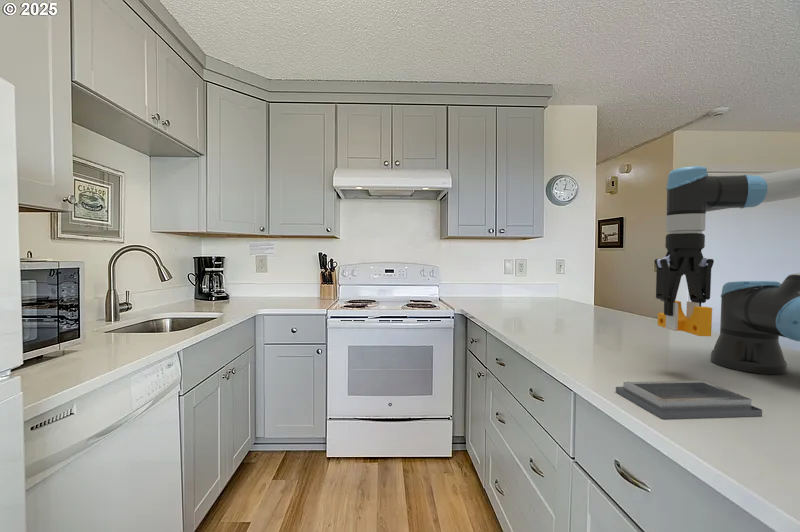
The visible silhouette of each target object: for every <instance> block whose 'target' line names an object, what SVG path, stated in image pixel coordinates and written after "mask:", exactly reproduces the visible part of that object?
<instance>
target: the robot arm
mask: <svg viewBox="0 0 800 532" xmlns="http://www.w3.org/2000/svg"><path fill="white" fill-rule="evenodd" d="M796 198H800V167H799V168H792V169H786V170H780V171H775V172H769V173H768V172H767V173H762V174H756V175H750V174H749V175H747V174H743V175H713V176H712V175H709V174H708V169H707V168H706V166H700V165H695V166H685V167H678V168H675V169H673V170H671V171H670V172H669V173H668V175H667V183H666V216H665V218H666V219H665V231H666V232H667V234H666V235H665V244H664V245H665V249H666V250H667V252H666V254H665V257H662V258H655V259H654V265H655V267H656V273H655V274H656V278H655V279H656V280H655V298H656V300H657V299H658V300H660V301H661V302H663V313H664V315H666V328H665V329H668V330H671V329H672V330H671V331H674V330H678V303H674V302H675V301H677V295H678V291H679V287H680V284H681V280H682V277H683V275H684V276H685V279H686V285H687V290H688V295H689V300H690V301H686V313H685V316H686V317H687V318H688V319H689V318H690V317H691V316H692V314H693V310H694V307H702V304H705V303H706V302H707V300H708V301H709V300H710V299H711V291H712V290H711V289H712V288H711V286H712V285H711V284H712V269H713V266H714V262H715V261H714V259H713V258H706V257H704V256H703V253H702V250H704V249H705V247H706V243H705V242H706V241H705V240H706V239H705V238H706V235H705V234H704V233H703V232H705V231H706V214H707V213H706V212H714V211H719V210H726V209H727V210H728V209H736V208H737V209H745V208H756V207H758V206H760V205H761V204H764V203H765V204H766V203H770V202H776V201H783V200H791V199H796ZM720 298H721V299H720V301H721V302H720V304H721V305H720V325H719V326H720V328H719V329H720V330H719V335H718V337H717V340H716V342H715V344H714V348H713V349H712V350H711V352H710V361H711V362H712V363H713V364H715V365H718V366H721V367H724V368H727V369H732V370H736V371H742V372H747V373H754V374H763V375H784V374H785V375H786V373H787V372H788V370H787V369H788V363H787V361H786V360H785V357H784V353H783V350H782V348H781V347H782V346H781V345H780V341H779V340H780V339H779V337H782V338H787V339H789V340H792V341H795V342H800V272H796V273H791V274H788V275H787V276H786V277H785V279H784V280H783V281H782V283H781V282H779V281H776V280H775V281H774V280H773V281H772V280H748V281H747V280H746V281H744V280H742V281H739V280H738V281H728V282H726V283H724V284H723V286H722V290H721V294H720Z"/></svg>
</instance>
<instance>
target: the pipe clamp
mask: <svg viewBox="0 0 800 532" xmlns="http://www.w3.org/2000/svg"><path fill="white" fill-rule="evenodd" d="M674 303H678V330H672V329H670V330H671V331H674V332H676V331H677V332H679V331H680V332H685V333H689V334H692V335H695V336H698V337H712V324H713V322H712V321H713V308H712V307H709V306H701V307H694V310H693V314H692V316H691V317H690V318H689V319H688V318H687V317H686V314H685V313H684V311H683V308H682V301H679V300H675V302H674ZM657 326H658V327H661V328H665V329H667V328H666V315H664V312H658V313H657Z"/></svg>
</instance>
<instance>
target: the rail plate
mask: <svg viewBox="0 0 800 532" xmlns="http://www.w3.org/2000/svg"><path fill="white" fill-rule="evenodd" d="M615 394H618V395H620V396H621V397H623V398H625V399H626V400H628V401H630V402H632V403H634V404H636V405H637V406H639V407H641V408H642V409H644V410H646V411H647V412H649V413H651V414H653V415H654V414H655V416H656V417H658V418H660V419H661V418H662V419H661V420H674V419H677V420H678V419H679V420H680V419H681V420H682V418H683V419H707V418H708V419H709V418H710V419H712V418H713V419H714V418H716V417H717V418H742V417H743V418H744V417H762V416H763V409H762V408H759V407H757V406H753V405H752V400H753V399H751V398H750V397H746V396H745V395H741V394H739V393H736V392H733V391H731V390H729V389H726V388H723V387H721V386H719V385H715V384H713V383H711V382H708V381H705V380H704V379H703V380H702V379H701V380H664V381H661V380H659V381H658V380H657V381H655V380H654V381H652V380H651V381H623V386H615Z"/></svg>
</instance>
